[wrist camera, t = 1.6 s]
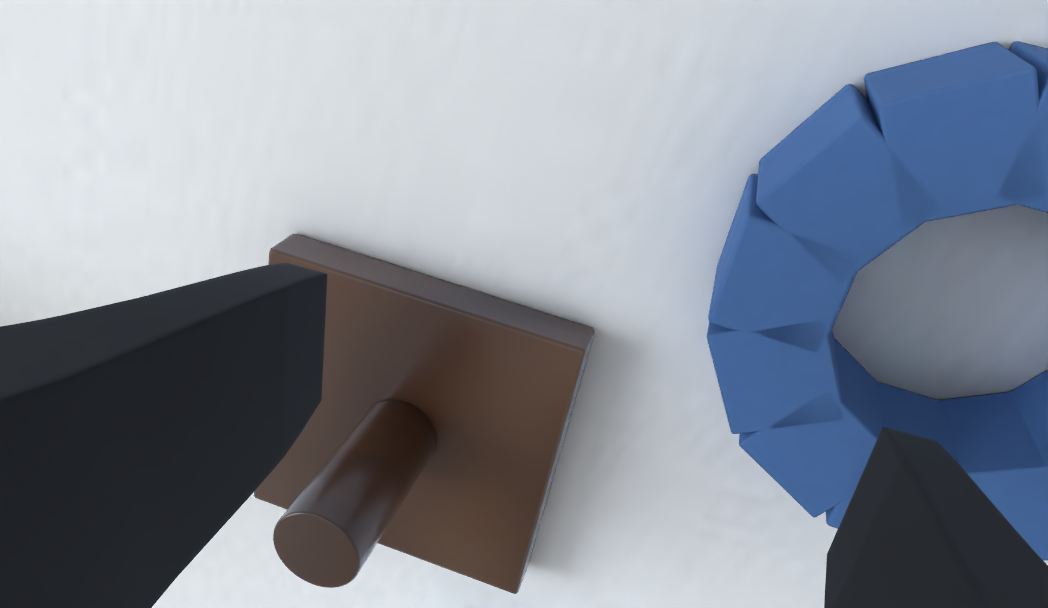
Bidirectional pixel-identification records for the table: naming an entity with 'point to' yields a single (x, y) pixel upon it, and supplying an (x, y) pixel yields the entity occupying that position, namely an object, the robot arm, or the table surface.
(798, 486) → the ring
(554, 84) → the table surface
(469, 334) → the peg stand
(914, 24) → the table surface
